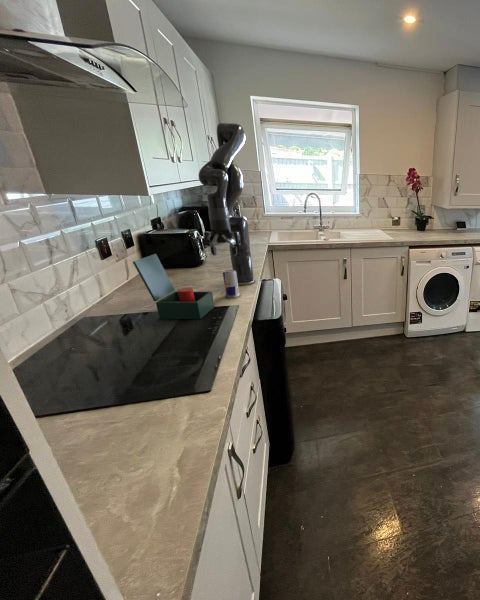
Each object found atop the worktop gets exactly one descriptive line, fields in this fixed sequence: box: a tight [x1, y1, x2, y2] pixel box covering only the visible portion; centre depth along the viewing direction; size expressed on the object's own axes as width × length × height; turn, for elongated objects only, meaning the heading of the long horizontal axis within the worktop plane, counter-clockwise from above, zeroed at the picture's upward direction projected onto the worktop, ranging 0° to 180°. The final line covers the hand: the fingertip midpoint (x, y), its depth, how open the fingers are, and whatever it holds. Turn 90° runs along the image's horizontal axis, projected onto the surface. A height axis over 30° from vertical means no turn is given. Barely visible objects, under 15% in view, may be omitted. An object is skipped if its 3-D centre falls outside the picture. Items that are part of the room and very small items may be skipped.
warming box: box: [155, 290, 216, 320], centre depth 127 cm, size 15×13×7 cm
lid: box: [132, 253, 176, 302], centre depth 122 cm, size 16×13×1 cm
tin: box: [177, 287, 195, 302], centre depth 127 cm, size 5×5×9 cm
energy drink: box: [222, 269, 240, 299], centre depth 145 cm, size 5×5×12 cm
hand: (224, 255), depth 145 cm, fingers open, 8 cm apart
